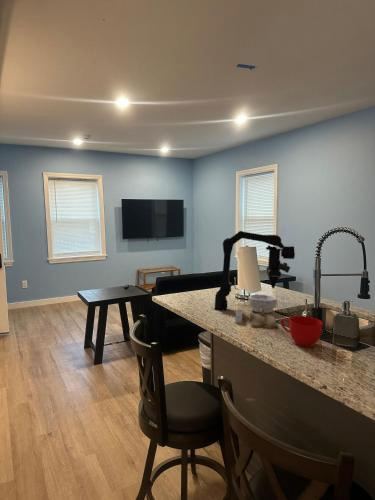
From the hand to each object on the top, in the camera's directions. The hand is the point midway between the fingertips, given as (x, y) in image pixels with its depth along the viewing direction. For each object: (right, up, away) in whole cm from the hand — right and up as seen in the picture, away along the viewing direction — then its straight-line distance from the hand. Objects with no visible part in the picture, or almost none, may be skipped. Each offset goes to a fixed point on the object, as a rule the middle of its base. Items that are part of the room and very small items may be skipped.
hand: (272, 286), depth 184 cm
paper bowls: (-5, -14, +4) cm, 16 cm away
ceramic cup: (0, -19, -43) cm, 47 cm away
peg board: (-9, -16, -16) cm, 24 cm away
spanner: (-21, -16, -14) cm, 30 cm away
